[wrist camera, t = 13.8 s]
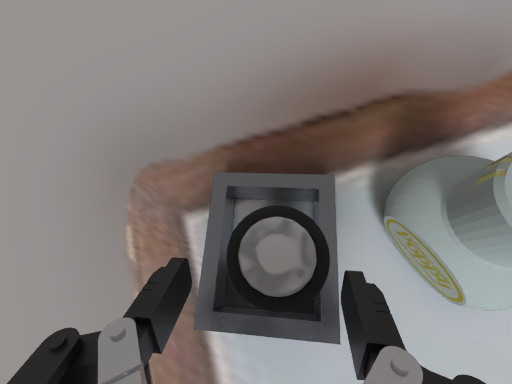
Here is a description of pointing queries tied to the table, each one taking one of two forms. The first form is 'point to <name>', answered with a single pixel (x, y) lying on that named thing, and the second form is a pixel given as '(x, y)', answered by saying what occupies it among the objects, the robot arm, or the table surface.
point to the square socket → (215, 258)
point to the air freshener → (457, 228)
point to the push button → (278, 258)
